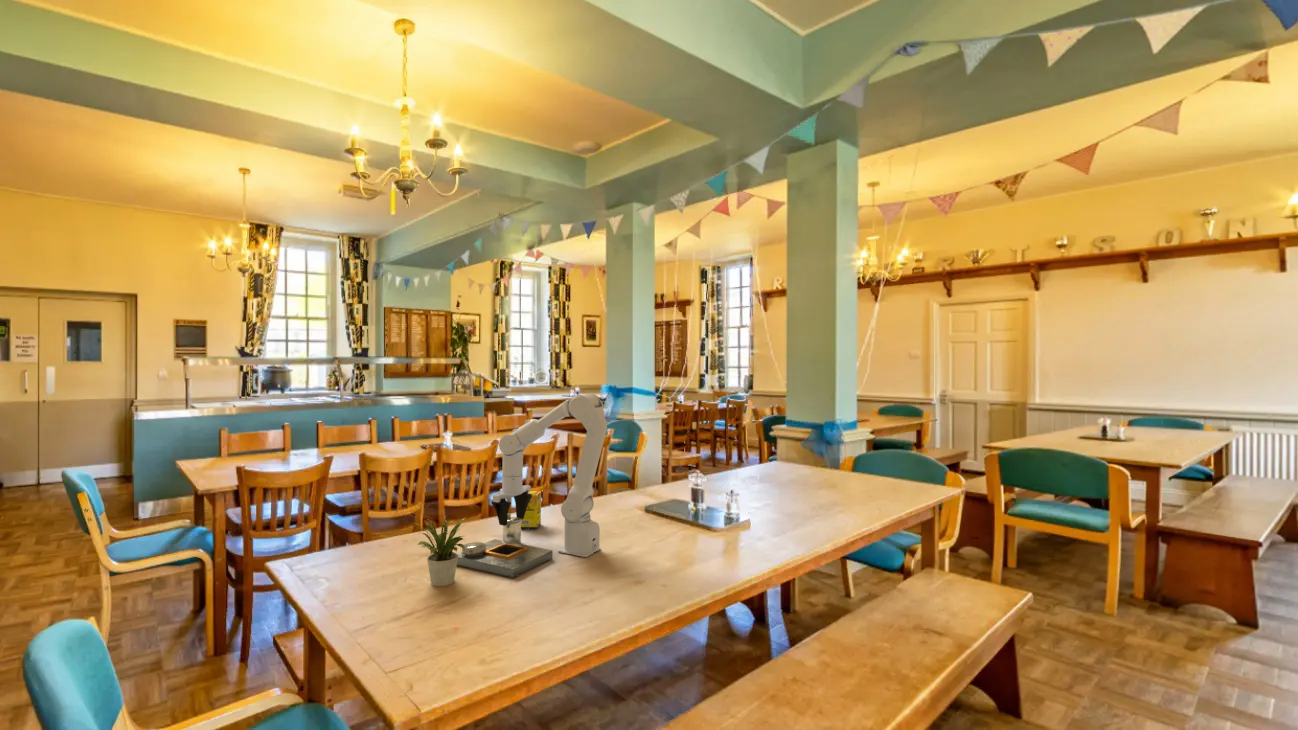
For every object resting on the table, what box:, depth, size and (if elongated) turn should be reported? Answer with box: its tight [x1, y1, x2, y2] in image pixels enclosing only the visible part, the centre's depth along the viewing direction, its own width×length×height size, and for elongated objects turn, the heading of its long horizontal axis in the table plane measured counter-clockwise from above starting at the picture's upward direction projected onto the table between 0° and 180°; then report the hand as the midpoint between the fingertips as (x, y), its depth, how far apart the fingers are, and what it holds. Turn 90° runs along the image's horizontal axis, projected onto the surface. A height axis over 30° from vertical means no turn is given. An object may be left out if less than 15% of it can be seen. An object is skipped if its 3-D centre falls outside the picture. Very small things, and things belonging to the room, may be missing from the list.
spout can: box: [502, 512, 522, 544], centre depth 171 cm, size 5×5×9 cm
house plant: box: [413, 514, 468, 587], centre depth 140 cm, size 14×14×16 cm
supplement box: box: [521, 490, 542, 530], centre depth 188 cm, size 6×6×11 cm
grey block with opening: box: [456, 538, 553, 580], centre depth 155 cm, size 20×16×4 cm
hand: (511, 521), depth 171 cm, fingers open, 7 cm apart
